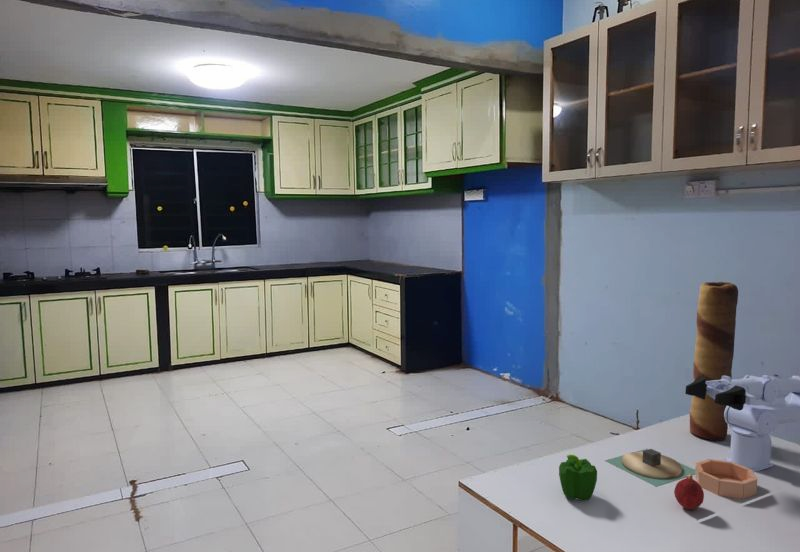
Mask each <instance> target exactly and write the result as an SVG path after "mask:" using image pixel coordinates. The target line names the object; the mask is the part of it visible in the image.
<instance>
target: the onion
mask: <svg viewBox="0 0 800 552" xmlns="http://www.w3.org/2000/svg"><path fill="white" fill-rule="evenodd" d="M673 490H674V492H673V493H674V498H675V499H676V501H677V503H678V504H679V505H680V506H681V507H682V508H683V509H685V510H689V511H690V510H691V511H692V510H695V509H697V508H699V507H700V506H701V505H702V504H703V502H704V499H705V491H704V489H703V488H702V487H701V486H700V485H699V484H698V483H697V481H696V479H694V478H693V475H690V474H689V475H687V477H685V478H682V479H680V480H679V481H678V482H677V483H676V485H675V487H674V489H673Z"/></svg>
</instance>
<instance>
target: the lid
mask: <svg viewBox="0 0 800 552" xmlns="http://www.w3.org/2000/svg"><path fill="white" fill-rule="evenodd" d="M647 449H648V450H645V451H643V452H637V451H634V452H629V453H626V454H623V455H624V456H623V458H622V464H623V466H624V467H625V468H626V469H628V470H629V471H631V472H633V473H635V474H638V475H641V476H645V477H649V478H656V479H670V478H675V477H678V476H679V475H680V474H681V473H682V467H681V465H680V464H679V463H680V462H679V461H677V460H676V459H673V458H671V457H670V456H667V455H664V454H662V452H660V451H657V450H656V449H653V448H647ZM678 462H679V463H678Z"/></svg>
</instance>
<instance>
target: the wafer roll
mask: <svg viewBox="0 0 800 552" xmlns="http://www.w3.org/2000/svg"><path fill="white" fill-rule="evenodd" d="M738 301H739V289H738V286H737V285H736V284H735V283H731V282H727V281H726V282H725V281H716V282H715V281H711V282H709V281H706V282H704V283H702V284H701V285H700V287H699V295H698V303H697V304H698V306H697V308H696V309H697V310H696V337H695V348H694V358H693V369H692V376H693V379H692V381H693V382H694V381H695V379H696V378H697V377H698V376H702V377H706V381H713V380H721V377H722V376H729V377H730V378H731V380H733V379H732V378H733V376H732V369H733V360H734V353H735V339H736V338H735V337H736V326H737V325H736V323H737V319H736V317H737V308H738V307H737V306H738ZM693 382H692V383H693ZM691 396H692V395H691ZM690 405H691V406H690V410H689V432H690V433H691V434H692V435H694V436H696V437H699V438H702V439H705V440H711V441H723V440H726V439H727V437H728V436H727V435H728V429H729V424H727V423H726V421H725V418H724V411H725V408H726V405H720V404H716V403H715V399H713V398H712V397H710V396H709V395H708V394H706V395H705V399H701V398H698V397H696V396H692V398H691V404H690Z"/></svg>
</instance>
